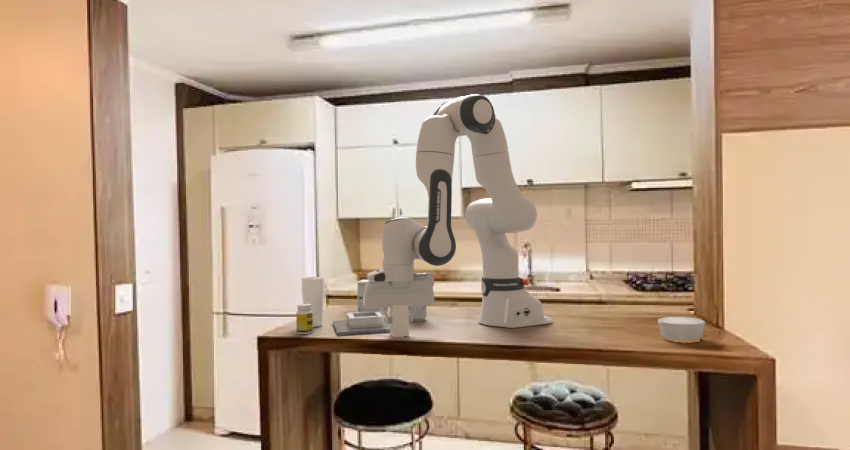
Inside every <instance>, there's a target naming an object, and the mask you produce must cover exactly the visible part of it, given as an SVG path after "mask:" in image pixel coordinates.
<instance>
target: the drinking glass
mask: <svg viewBox="0 0 850 450" xmlns="http://www.w3.org/2000/svg"><path fill="white" fill-rule="evenodd" d="M324 280H325V278H324V277H323V276H311V277H310V276H307V277H302V278H301V295H302V296H301V297H302V304H311V311H312V312H313V328H317V327H322V325H323V312H324V296H325V295H324V293H325V284H324V283H325V281H324Z"/></svg>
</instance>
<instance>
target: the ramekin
mask: <svg viewBox="0 0 850 450" xmlns="http://www.w3.org/2000/svg"><path fill="white" fill-rule="evenodd" d="M657 323H658V325H659V332H660V334H661V338H662V337H664V338H668V339H674V340H693V339H698V338H701V337H702V338H703V337H704V330H705V326H706V321H705V320H702V319H700V318H696V317H687V316H666V317H660V318H658V319H657Z"/></svg>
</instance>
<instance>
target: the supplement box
mask: <svg viewBox="0 0 850 450" xmlns="http://www.w3.org/2000/svg"><path fill="white" fill-rule="evenodd" d="M367 282H368V279H360V280H359V281H357V289H356V290H357V295H356V297H357V312H369V311H379V312H380V313H381V314H382V315H383V316H384V313H383V312H382V308H372V309H367V308H366V307H365V306H364V305H363V293H364V287H365V284H366V283H367Z"/></svg>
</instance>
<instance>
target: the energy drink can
mask: <svg viewBox="0 0 850 450" xmlns="http://www.w3.org/2000/svg"><path fill="white" fill-rule="evenodd" d="M408 311H409V314H410V312H411V309H410V306H408ZM426 318H427V305H425V306H416V311H415V313H414V315H413V322H424V321H425V320H426Z"/></svg>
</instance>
